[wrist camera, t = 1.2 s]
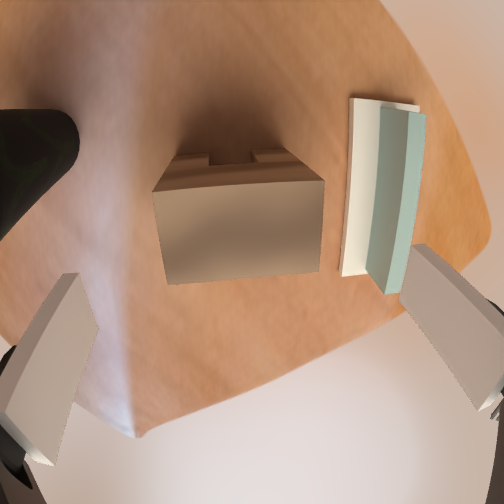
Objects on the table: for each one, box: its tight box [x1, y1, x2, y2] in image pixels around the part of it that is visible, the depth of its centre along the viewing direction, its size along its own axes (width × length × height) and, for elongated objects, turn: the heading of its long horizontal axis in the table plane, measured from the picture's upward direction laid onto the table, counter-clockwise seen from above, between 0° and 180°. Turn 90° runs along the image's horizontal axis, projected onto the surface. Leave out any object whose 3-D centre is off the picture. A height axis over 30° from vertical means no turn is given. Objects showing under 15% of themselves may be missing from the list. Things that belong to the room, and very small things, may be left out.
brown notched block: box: [152, 149, 325, 285], centre depth 19 cm, size 5×8×9 cm, turn 92°
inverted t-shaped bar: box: [339, 98, 426, 295], centre depth 23 cm, size 15×6×5 cm, turn 2°
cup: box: [0, 109, 80, 241], centre depth 15 cm, size 8×8×12 cm
